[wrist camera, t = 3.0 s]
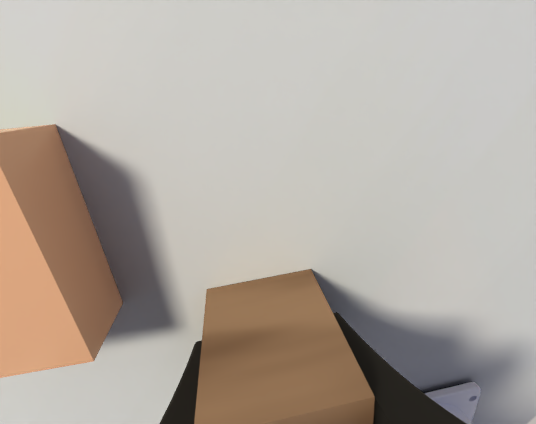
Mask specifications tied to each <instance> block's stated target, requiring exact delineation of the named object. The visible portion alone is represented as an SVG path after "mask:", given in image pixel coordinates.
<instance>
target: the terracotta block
mask: <svg viewBox="0 0 536 424" xmlns="http://www.w3.org/2000/svg"><path fill="white" fill-rule="evenodd" d="M122 304H123V302H122V299H121V296H120V294H119V291H118V288H117V286H116V283H115V280H114V278H113V275H112V273H111V270H110V267H109V265H108V262H107V259H106V257H105V254H104V251H103V249H102V246H101V243H100V241H99V238H98V236H97V233H96V230H95V228H94V225H93V222H92V220H91V217H90V214H89V212H88V209H87V206H86V204H85V201H84V199H83V196H82V193H81V191H80V188H79V185H78V183H77V180H76V177H75V175H74V172H73V169H72V167H71V164H70V162H69V159H68V156H67V154H66V151H65V148H64V146H63V143H62V140H61V138H60V135H59V132H58V130H57V127H56V125H55V124H53V125H43V126H32V127H22V128H11V129H0V378H2V377H7V376H13V375H19V374H24V373H30V372H35V371H41V370H47V369H52V368H58V367H64V366H69V365H75V364H81V363H86V362H92V361H94V360H95V358H96V356H97V354H98V352H99V350H100V348H101V346H102V344H103V342H104V340H105V338H106V336H107V334H108V332H109V330H110V328H111V326H112V324H113V322H114V320H115V318H116V316H117V314H118V312H119V310H120V308H121V306H122Z"/></svg>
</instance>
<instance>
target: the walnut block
mask: <svg viewBox="0 0 536 424" xmlns="http://www.w3.org/2000/svg"><path fill="white" fill-rule="evenodd" d="M374 401H375V396H374V394H373V392H372V390H371V388H370V386H369V384H368V382H367V380H366V378H365V376H364V374H363V372H362V370H361V368H360V366H359V364H358V362H357V360H356V358H355V356H354V354H353V352H352V350H351V348H350V346H349V344H348V342H347V340H346V338H345V336H344V334H343V332H342V330H341V328H340V326H339V324H338V322H337V320H336V318H335V316H334V314H333V312H332V310H331V308H330V306H329V304H328V302H327V300H326V298H325V296H324V294H323V292H322V290H321V288H320V286H319V284H318V282H317V280H316V278H315V276H314V274H313V272H312V270H311V269H309V270H304V271H299V272H294V273H289V274H283V275H278V276H273V277H268V278H263V279H258V280H253V281H247V282H242V283H237V284H232V285H227V286H222V287H217V288H211V289H207V293H206V304H205V314H204V325H203V336H202V346H201V357H200V367H199V378H198V389H197V399H196V410H195V420H194V424H373V419H374Z"/></svg>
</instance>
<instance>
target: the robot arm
mask: <svg viewBox="0 0 536 424" xmlns="http://www.w3.org/2000/svg"><path fill="white" fill-rule="evenodd" d="M333 314H334V316H335V318H336V320H337V322H338V324H339V326H340V328H341V330H342V332H343V334H344V336H345V338H346V340H347V342H348V344H349V346H350V348H351V350H352V352H353V354H354V356H355V358H356V360H357V362H358V364H359V366H360V368H361V370H362V372H363V374H364V376H365V378H366V380H367V382H368V384H369V386H370V388H371V390H372V392H373V394H374V396H375V401H374V419H373V424H472V420H473V417H474V414H475V410H476V407H477V404H478V400H479V397H480V394H481V388H480V387H479V386H478V385H477V384H476V383H475V382H469V383H465V384H461V385H456V386H452V387H448V388H444V389H440V390H436V391H432V392H427V393H423V392H422V391H420V390H419V389H418V388H416V387H415V386H414V385H413V384H411V383H410V382H409V381H408V380H406V379H405V378H404V377H403V376H402V375H400V374H399V373H398V372H397V371H396V370H395V369H394V368H392V367H391V366H390V365H389V364H388V363H387V362H386V361H385V360H383V359H382V358H381V357H380V356H379V355H378V354H377V353H376V352H375V351H374V350H373V349H372V348H371V347H370V346H369V345H368V344H367V343H366V342H365V341H364V340H363V339H362V338H361V337H360V336H359V335H358V334H357V333H356V332H355V331H354V330H353V329H352V328H351V327H350V326H349V325H348V324H347V322H346V321H345V320H344V319H343V318H342V317H341V316H340V315H339V314H338V313H337V312H336V313H333ZM201 346H202V341H198V342H196V343H195V345H194V348H193V350H192V353H191V356H190V358H189V361H188V363H187V366H186V368H185V371H184V373H183V376H182V378H181V380H180V382H179V385H178V387H177V389H176V391H175V393H174V396H173V398H172V400H171V402H170V404H169V406H168V408H167V410H166V412H165V414H164V416H163V418H162V420H161V422H160V424H194V420H195V410H196V399H197V389H198V378H199V367H200V357H201Z"/></svg>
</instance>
